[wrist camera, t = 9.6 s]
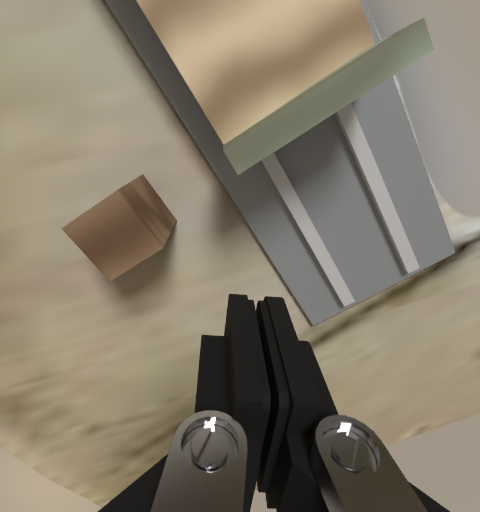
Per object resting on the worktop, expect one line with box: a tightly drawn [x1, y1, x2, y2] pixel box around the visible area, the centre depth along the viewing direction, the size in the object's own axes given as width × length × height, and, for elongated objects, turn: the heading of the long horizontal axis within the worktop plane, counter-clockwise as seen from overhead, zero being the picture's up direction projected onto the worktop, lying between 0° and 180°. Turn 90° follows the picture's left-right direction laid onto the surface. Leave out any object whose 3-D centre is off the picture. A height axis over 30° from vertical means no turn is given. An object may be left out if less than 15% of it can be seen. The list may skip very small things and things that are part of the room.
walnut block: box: [62, 175, 177, 281], centre depth 25 cm, size 5×5×7 cm
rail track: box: [105, 0, 455, 326], centre depth 25 cm, size 42×16×1 cm, turn 32°
